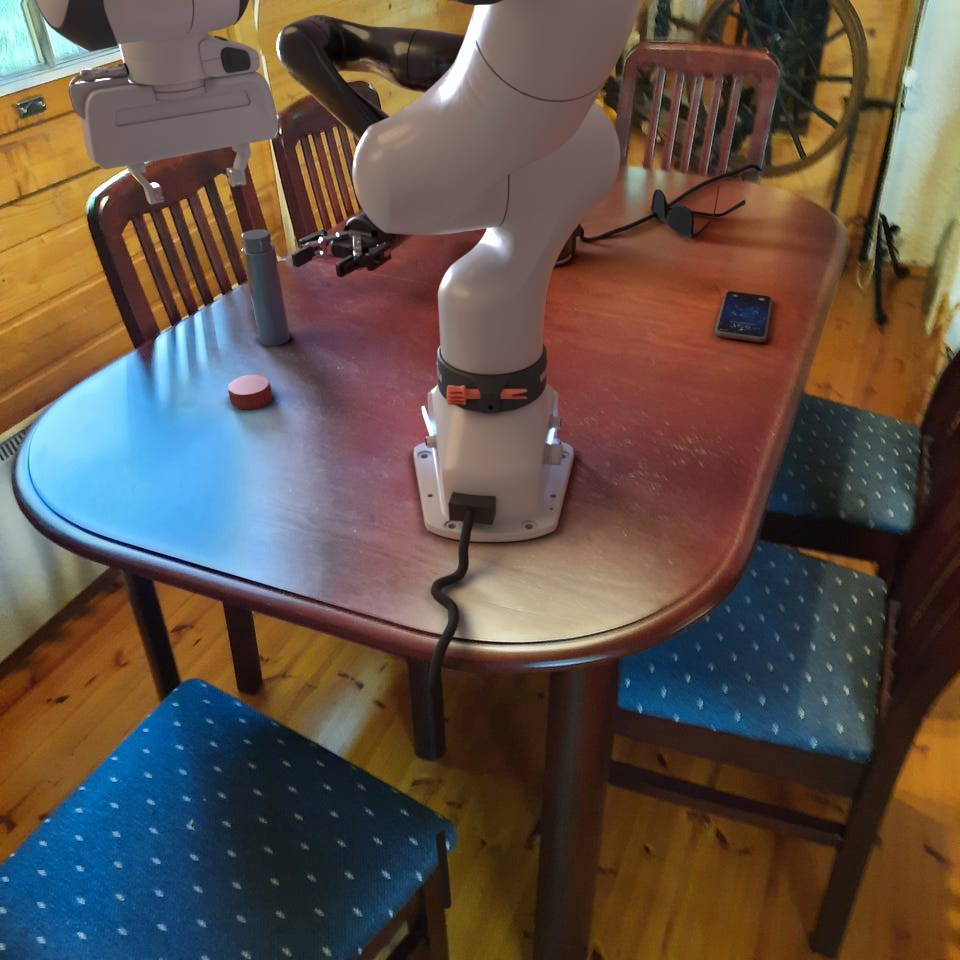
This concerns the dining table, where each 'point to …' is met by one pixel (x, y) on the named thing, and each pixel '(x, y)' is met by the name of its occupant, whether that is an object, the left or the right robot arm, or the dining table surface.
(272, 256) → the bottle
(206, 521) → the dining table surface
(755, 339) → the smartphone
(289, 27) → the right robot arm
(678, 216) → the sunglasses
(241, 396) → the lid
